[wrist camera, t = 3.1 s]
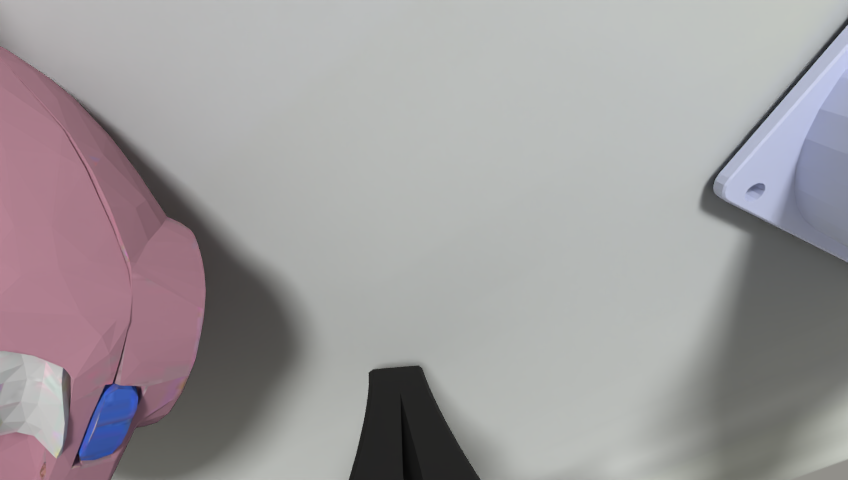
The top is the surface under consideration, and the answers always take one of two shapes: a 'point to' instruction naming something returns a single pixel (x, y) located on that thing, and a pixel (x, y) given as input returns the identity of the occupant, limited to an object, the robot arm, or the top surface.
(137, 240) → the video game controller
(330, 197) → the top surface
